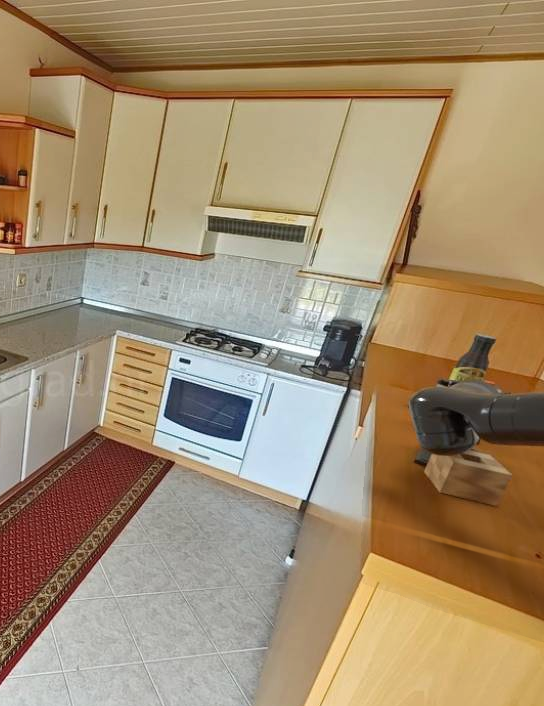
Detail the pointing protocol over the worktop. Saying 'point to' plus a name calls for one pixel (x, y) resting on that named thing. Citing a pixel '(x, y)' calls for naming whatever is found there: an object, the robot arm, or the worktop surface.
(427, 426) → the robot arm
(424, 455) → the tablet
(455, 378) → the sauce bottle
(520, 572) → the worktop surface
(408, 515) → the worktop surface
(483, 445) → the worktop surface
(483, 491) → the stand
